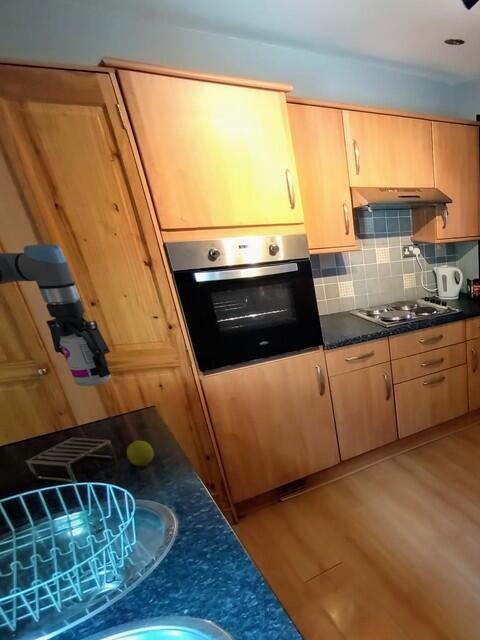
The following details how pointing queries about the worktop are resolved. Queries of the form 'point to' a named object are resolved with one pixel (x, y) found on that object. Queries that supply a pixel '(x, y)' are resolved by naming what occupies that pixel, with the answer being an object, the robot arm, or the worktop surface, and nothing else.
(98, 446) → the wire rack
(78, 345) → the supplement can
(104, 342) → the robot arm
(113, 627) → the worktop surface
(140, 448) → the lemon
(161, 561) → the worktop surface
